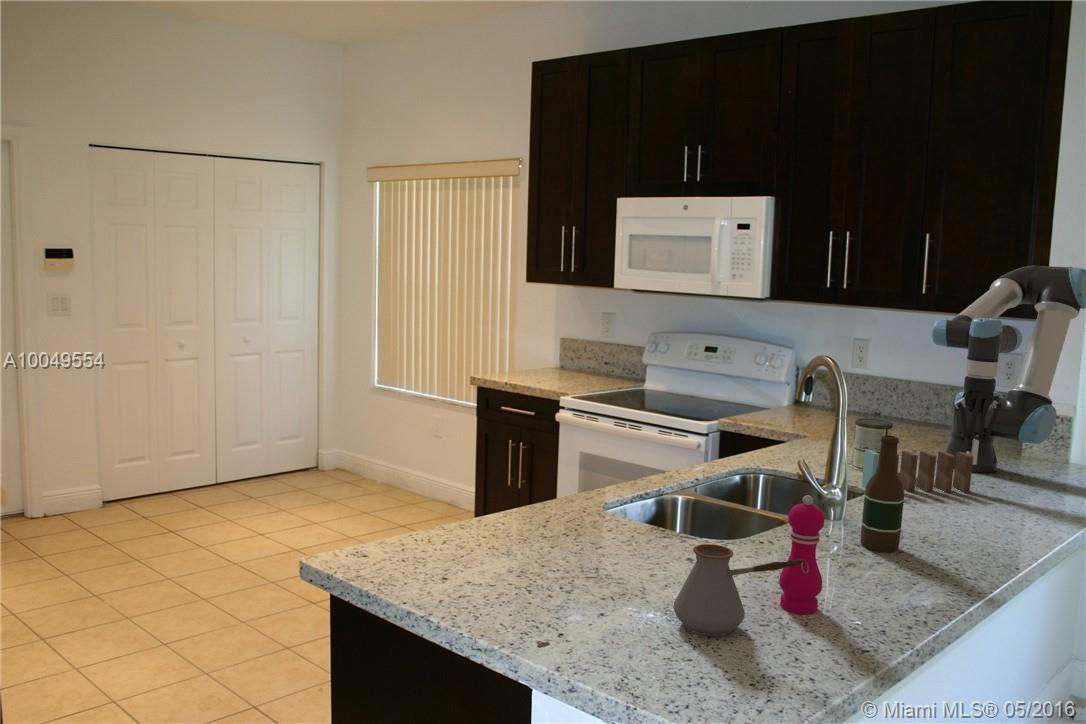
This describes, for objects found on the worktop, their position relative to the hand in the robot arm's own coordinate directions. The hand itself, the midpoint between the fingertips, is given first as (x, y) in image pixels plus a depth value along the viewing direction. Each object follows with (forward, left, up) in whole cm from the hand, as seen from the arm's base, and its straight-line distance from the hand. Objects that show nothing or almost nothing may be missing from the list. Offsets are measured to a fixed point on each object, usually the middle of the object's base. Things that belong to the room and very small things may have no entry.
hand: (970, 463), depth 245 cm
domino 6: (+2, 0, -8) cm, 8 cm away
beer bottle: (+49, +47, -8) cm, 68 cm away
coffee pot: (+95, +90, -8) cm, 131 cm away
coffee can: (+17, -22, -8) cm, 29 cm away
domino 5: (+7, 0, -8) cm, 10 cm away
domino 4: (+12, 0, -8) cm, 14 cm away
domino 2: (+23, 0, -8) cm, 24 cm away
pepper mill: (+80, +79, -8) cm, 113 cm away
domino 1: (+28, 0, -8) cm, 29 cm away
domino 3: (+18, 0, -8) cm, 19 cm away
